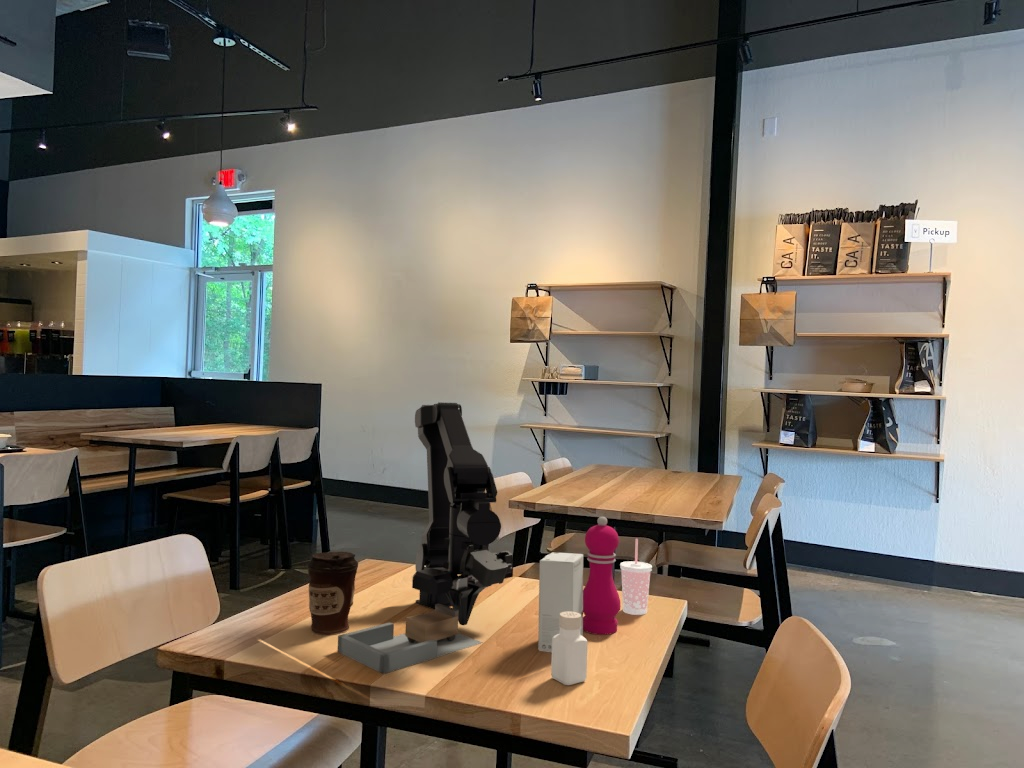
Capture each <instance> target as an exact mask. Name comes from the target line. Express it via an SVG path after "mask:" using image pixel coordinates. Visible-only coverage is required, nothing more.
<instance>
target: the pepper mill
mask: <svg viewBox="0 0 1024 768" xmlns="http://www.w3.org/2000/svg"><path fill="white" fill-rule="evenodd" d="M596 521H597V524H596V525H593V526H590V528H589V529H588V530H587V531H586V534H585V536H584V543H585V546H586V548H587V549H588V550H589V551H588V552H587V553H586V555H587V558H586V559H587V561H588V562H589V575H588V578H587V581H586V584H585V586H584V587H583V632H587V633H589V634H593V635H599V636H600V635H601V636H602V635H603V636H604V635H605V636H606V635H612V634H614V633H617V631H618V619H617V618H615V617H616V616H617V615H618V614H619V612H620V611H621V608H622V607H621V598H620V594H619V592H618V589H617V587H616V584H615V581H614V579H613V578H614V577H613V567H614V566H613V565H614V563H615V562H616V561H617V560H616V556H617V554H616V553H615V550H616V549H617V548H618V546H619V541H620V538H619V535H618V532H617V531H616V529H615V528H614V527H612V526H609V525H607V524H608V519H607V517H605V516H599V517H598V518H597V520H596Z"/></svg>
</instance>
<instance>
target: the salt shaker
mask: <svg viewBox="0 0 1024 768" xmlns="http://www.w3.org/2000/svg"><path fill="white" fill-rule="evenodd" d="M559 628H560V634H557V635H555V636H554V637H553V638H552V652H551V664H550V669H551V670H550V671H551V673H550V674H551V675H550V676H551V678H552V679H554V680H555V681H557V682H559V683H561V684H562V685H564V686H571V685H575V684H579V683H583V682H585V681H586V679H587V676H588V675H587V673H588V670H587V669H588V640H587V638H585V637H584V635H583V636H582V635H580V629H581V614H579V613H577V612H570V611H567V612H562V613H560V615H559Z"/></svg>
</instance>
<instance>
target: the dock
mask: <svg viewBox="0 0 1024 768" xmlns="http://www.w3.org/2000/svg"><path fill="white" fill-rule="evenodd" d="M394 626H395V624H394V623H393V622H386V623H383V624H382V623H381V624H379V625H375V626H371V627H367V628H363V629H359V630H355V631H354V630H353V631H351V632H345V633H341V634H337V652H338V653H339V654H341V655H343V656H345V657H346V658H347V657H348V658H349V659H351V660H354V661H356V662H357V663H360V664H362V665H363V666H366V667H368V668H369V669H372V670H375V671H376V672H379V673H381V674H382V675H384V674H388V673H391V672H394V671H399V670H401V669H404V668H407V667H410V666H414V665H417V664H419V663H424V662H427V661H430V660H433V659H436V658H440V657H442V656H443V657H444V656H446V655H449V654H451V653H455V652H458V651H462V650H465V649H469V648H471V647H474V646H477V645H478V646H479V645H481V644H484V642H482V641H480V640H478V639H474V638H472V637H470V636H467V635H465V634H462V633H459V632H458V634H457V635H456V637H455V639H454V640H453V641H449V640H447V638H444V639H440V640H437V641H436V640H433V639H432V640H429V641H425V642H422V643H421V642H419V641H415V642H409V641H408V639H407V637H406V636H405V633H401V634H398V635H394V632H395V631H394Z"/></svg>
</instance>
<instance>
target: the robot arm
mask: <svg viewBox="0 0 1024 768" xmlns="http://www.w3.org/2000/svg"><path fill="white" fill-rule="evenodd" d="M462 407H463V406H462V405H461V404H459V403H458V402H439V401H438V403H434V404H422V405H421V406H420V407H419V408H417V409H416V410H415V413H414V414H415V415H414V425H415V428H417V437H418V439H419V440H420V443H421V444H422V445H423V446H424V448H425V449H426V463H427V464H426V465H427V466H426V467H427V470H426V471H427V491H428V492H427V493H428V495H427V496H428V516H429V517H428V521H429V522H428V524H427V526H426V528H425V530H424V532H423V534H422V535H421V543H420V545H419V547H418V550H417V553H416V557H415V561H414V563H415V564H414V566H415V572H414V574H413V575H412V578H411V579H412V585H411V588H412V589H415V590H416V591H417V590H418V591H419V599H416V600H415V604H418V605H421V606H423V607H426V608H428V609H429V608H430V609H431V610H433V611H434V610H435V604H442V605H445V606H448V607H451V608H454V609H457V610H458V625H460V626H466V625H468V622H469V619H470V617H471V614H472V612H473V608H474V607H475V604H476V601H477V599H478V596H479V595H480V593H481V592H483V590H485V589H486V588H488V587H492V586H493V585H496V584H499V585H501V584H502V583H504V580H507V579H510V578H513V577H514V555H513V553H512V552H510V551H509V550H503V551H499V553H497V552H491V551H490V549H489V545H490V544H492V543H494V542H495V541H496V540H497V539H498V537H499V536H500V533H501V530H502V523H501V521H500V520H501V519H500V518H499V516H498V514H497V513H496V512H495V511H493V510H491V503H497V495H498V489H497V485H496V482H495V479H494V476H493V472H492V470H491V468H490V466H489V465H488V463H487V461H486V459H485V457H484V455H483V454H482V453H480V452H479V451H477V450H476V449H474V448H473V445H472V443H471V439H470V436H469V434H468V433H469V432H468V431H467V429H466V425H465V422H464V419H463V408H462Z"/></svg>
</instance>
